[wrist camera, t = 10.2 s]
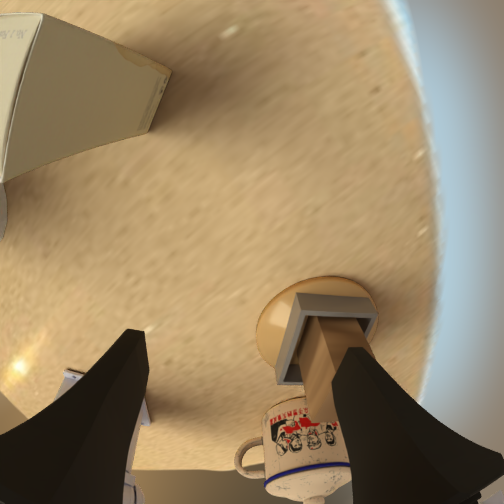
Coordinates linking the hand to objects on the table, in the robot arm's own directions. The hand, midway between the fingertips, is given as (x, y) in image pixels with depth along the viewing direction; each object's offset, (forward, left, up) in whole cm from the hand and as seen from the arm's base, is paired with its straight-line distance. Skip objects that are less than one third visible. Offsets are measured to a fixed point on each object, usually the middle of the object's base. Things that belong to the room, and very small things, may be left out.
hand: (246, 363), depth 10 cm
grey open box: (+7, -7, -10) cm, 14 cm away
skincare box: (-9, +9, -11) cm, 17 cm away
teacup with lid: (+8, -21, -11) cm, 25 cm away
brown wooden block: (+7, -6, -10) cm, 13 cm away
